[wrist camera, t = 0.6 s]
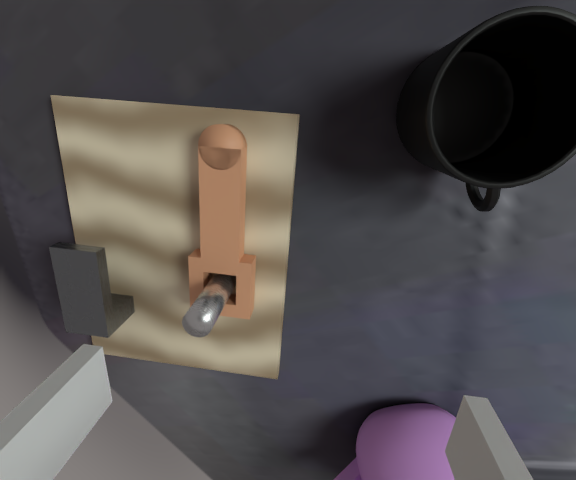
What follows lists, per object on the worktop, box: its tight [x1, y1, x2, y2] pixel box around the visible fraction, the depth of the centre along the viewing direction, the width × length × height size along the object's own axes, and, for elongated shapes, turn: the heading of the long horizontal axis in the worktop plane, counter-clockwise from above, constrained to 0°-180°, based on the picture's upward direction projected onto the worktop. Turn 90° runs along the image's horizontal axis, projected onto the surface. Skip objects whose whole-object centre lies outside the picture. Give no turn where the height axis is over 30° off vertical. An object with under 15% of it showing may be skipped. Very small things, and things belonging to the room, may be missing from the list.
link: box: [188, 124, 256, 320], centre depth 30 cm, size 18×6×2 cm, turn 176°
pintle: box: [182, 273, 236, 337], centre depth 29 cm, size 2×2×8 cm
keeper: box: [49, 242, 135, 338], centre depth 32 cm, size 9×4×5 cm, turn 176°
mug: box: [396, 6, 576, 211], centre depth 23 cm, size 9×12×9 cm
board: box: [51, 95, 300, 379], centre depth 33 cm, size 28×22×1 cm
